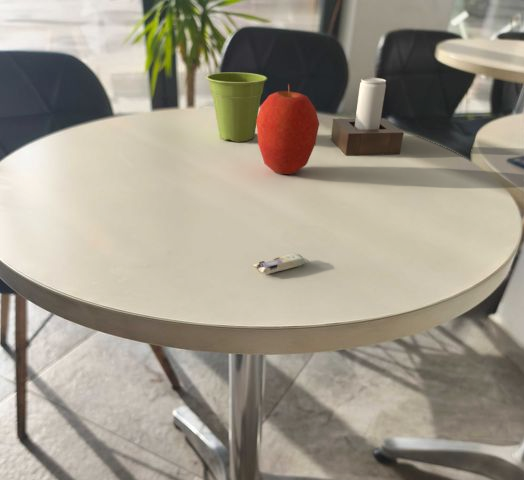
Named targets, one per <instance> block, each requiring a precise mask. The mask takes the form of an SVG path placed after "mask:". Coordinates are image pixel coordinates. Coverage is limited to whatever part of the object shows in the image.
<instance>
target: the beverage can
mask: <svg viewBox="0 0 524 480" xmlns="http://www.w3.org/2000/svg"><path fill="white" fill-rule="evenodd" d="M360 81H361V82H360V83H359V90H358V97H357V106H356V113H355V119H356V120H355V127H354V128H356V129H357V130H377V129H379V126H380V120H381V118H382V112H383V106H384V101H385V94H386V88H387V84H386V82H387V80H386V79H384V78H381V77H380V78H379V77H363V78H361V79H360Z"/></svg>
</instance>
